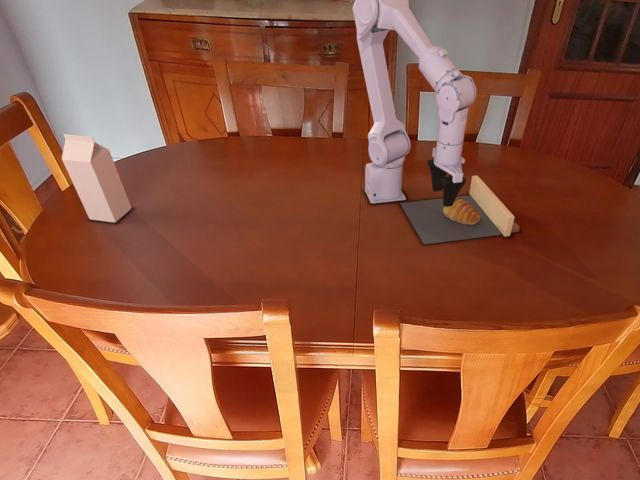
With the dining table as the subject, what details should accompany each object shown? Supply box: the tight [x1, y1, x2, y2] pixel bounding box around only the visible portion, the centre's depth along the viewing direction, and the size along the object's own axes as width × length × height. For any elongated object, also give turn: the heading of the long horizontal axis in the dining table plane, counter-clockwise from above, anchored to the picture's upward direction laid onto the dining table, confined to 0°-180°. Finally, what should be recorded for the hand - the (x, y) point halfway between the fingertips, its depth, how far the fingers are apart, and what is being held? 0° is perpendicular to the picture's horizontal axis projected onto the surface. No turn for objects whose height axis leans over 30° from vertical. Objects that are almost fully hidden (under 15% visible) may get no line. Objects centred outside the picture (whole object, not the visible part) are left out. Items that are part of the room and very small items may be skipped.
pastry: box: [443, 198, 481, 225], centre depth 115 cm, size 9×7×4 cm
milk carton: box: [61, 133, 132, 223], centre depth 109 cm, size 7×7×19 cm
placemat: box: [399, 194, 503, 245], centre depth 116 cm, size 20×20×1 cm
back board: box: [468, 175, 521, 238], centre depth 116 cm, size 4×22×5 cm, turn 14°
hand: (442, 198), depth 112 cm, fingers open, 7 cm apart
